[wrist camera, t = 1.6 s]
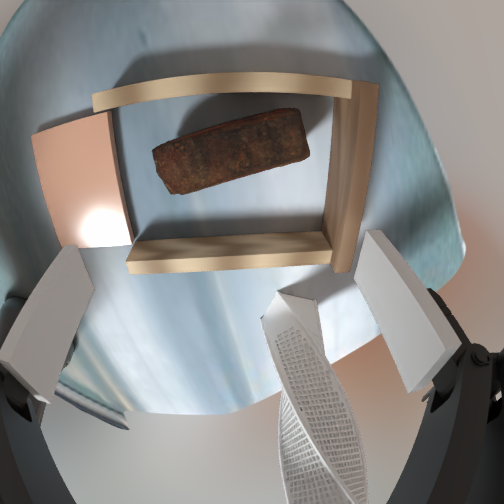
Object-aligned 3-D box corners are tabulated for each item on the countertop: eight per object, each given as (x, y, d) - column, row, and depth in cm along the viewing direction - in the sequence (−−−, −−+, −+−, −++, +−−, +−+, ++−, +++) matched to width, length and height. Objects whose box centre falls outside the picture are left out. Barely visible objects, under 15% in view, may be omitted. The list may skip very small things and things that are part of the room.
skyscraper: (330, 295, 33) (405, 519, 10) (302, 333, 36) (348, 530, 13) (272, 282, 30) (327, 554, 7) (249, 324, 34) (276, 549, 11)
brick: (284, 106, 20) (301, 105, 16) (294, 150, 22) (313, 160, 18) (159, 143, 20) (146, 151, 16) (174, 186, 22) (165, 203, 18)
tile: (66, 244, 25) (62, 249, 24) (36, 133, 18) (30, 135, 17) (134, 239, 26) (131, 244, 25) (111, 110, 18) (106, 111, 18)
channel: (138, 253, 27) (125, 284, 23) (109, 92, 17) (82, 95, 13) (332, 242, 28) (349, 272, 24) (350, 82, 19) (378, 84, 15)
